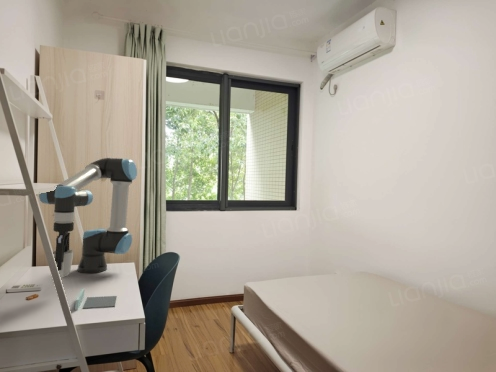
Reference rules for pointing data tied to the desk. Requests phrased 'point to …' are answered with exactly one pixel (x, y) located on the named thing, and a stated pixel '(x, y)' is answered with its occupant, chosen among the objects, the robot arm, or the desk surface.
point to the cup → (66, 261)
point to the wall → (79, 299)
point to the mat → (100, 302)
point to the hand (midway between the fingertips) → (61, 274)
